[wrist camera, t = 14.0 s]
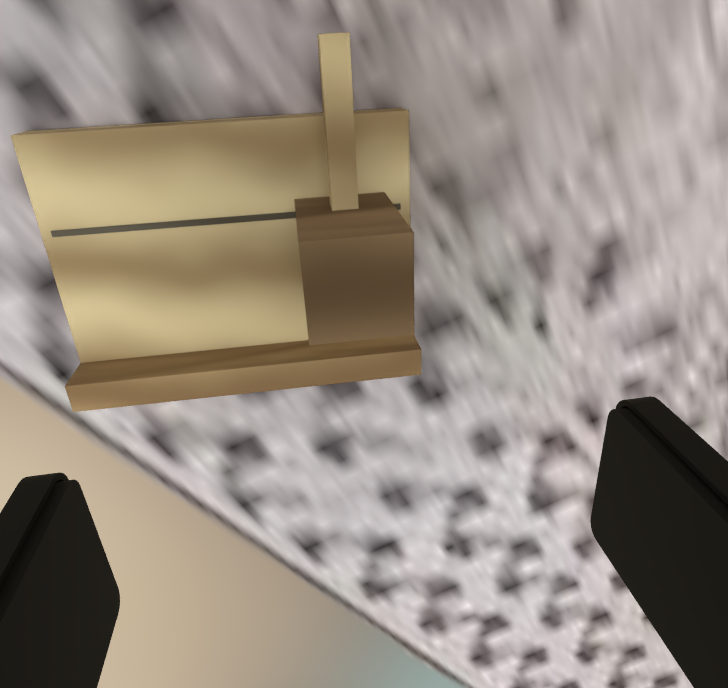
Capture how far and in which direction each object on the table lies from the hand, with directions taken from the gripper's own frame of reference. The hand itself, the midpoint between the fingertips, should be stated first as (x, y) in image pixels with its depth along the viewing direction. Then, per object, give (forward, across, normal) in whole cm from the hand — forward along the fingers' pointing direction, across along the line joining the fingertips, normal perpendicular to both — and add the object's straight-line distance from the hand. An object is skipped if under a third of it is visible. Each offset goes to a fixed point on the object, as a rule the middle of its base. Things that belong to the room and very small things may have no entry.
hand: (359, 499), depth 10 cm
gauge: (+20, -2, -2) cm, 21 cm away
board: (+23, +4, +2) cm, 23 cm away
